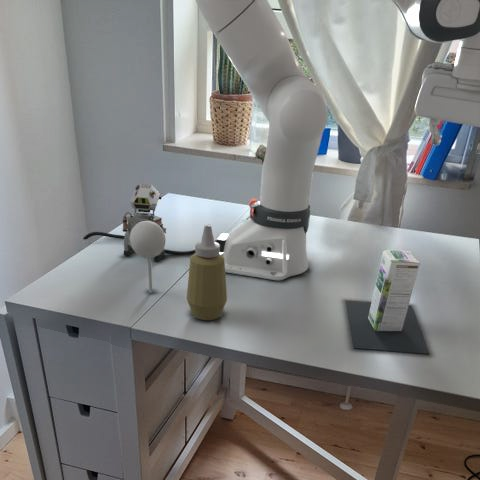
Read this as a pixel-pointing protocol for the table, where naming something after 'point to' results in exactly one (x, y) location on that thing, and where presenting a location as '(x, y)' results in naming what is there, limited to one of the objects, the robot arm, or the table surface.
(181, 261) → the table surface
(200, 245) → the squeeze bottle
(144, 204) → the figurine
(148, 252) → the lollipop
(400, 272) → the syrup box
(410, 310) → the mat
